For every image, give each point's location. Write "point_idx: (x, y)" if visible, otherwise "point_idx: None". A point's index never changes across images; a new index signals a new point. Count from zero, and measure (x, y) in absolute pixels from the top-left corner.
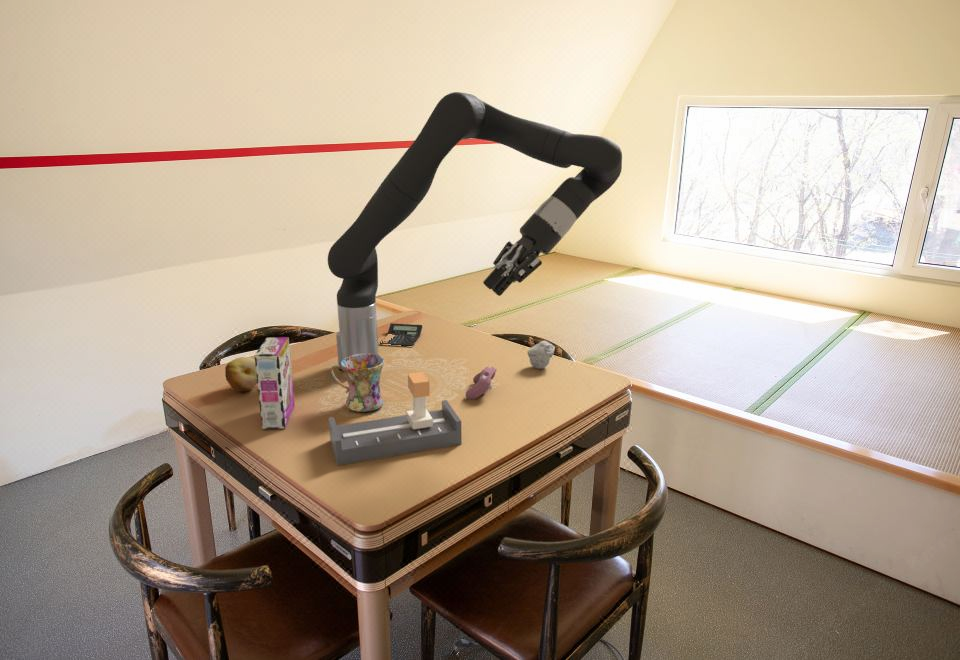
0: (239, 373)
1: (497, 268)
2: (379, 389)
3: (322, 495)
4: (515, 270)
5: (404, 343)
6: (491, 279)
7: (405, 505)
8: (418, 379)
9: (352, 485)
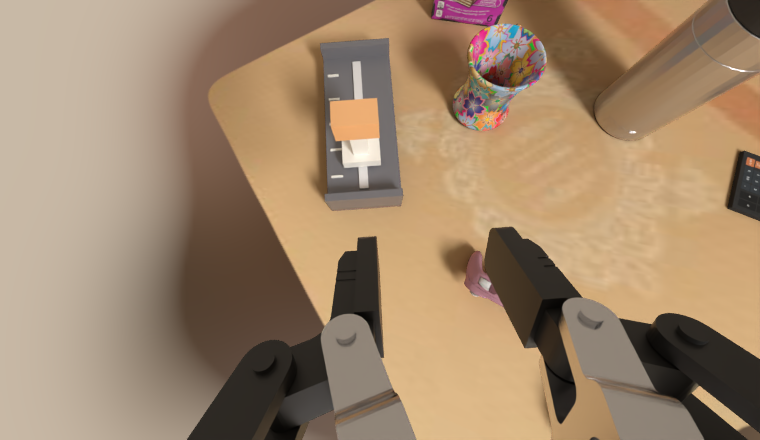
0: None
1: (560, 318)
2: (480, 111)
3: (272, 53)
4: (241, 391)
5: (743, 195)
6: (506, 268)
7: (224, 125)
8: (344, 111)
9: (281, 80)
